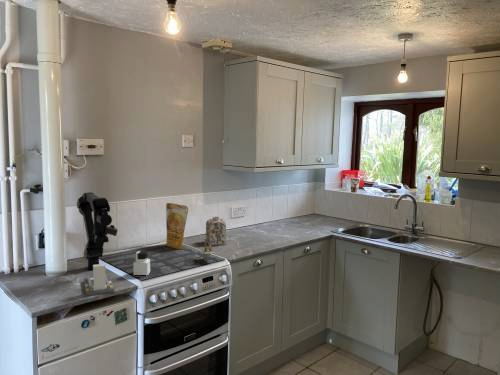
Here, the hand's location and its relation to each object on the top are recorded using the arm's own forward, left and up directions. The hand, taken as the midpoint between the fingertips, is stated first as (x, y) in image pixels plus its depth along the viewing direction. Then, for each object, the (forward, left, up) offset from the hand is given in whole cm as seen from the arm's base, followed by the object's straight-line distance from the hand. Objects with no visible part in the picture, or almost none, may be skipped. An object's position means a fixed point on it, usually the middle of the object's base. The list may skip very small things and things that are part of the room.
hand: (100, 252), depth 209 cm
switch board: (+14, -10, -12) cm, 21 cm away
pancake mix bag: (-15, +62, -12) cm, 64 cm away
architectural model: (+22, +55, -13) cm, 60 cm away
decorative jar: (-2, +86, -12) cm, 87 cm away
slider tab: (+20, -13, -10) cm, 26 cm away
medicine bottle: (+14, +15, -12) cm, 24 cm away
